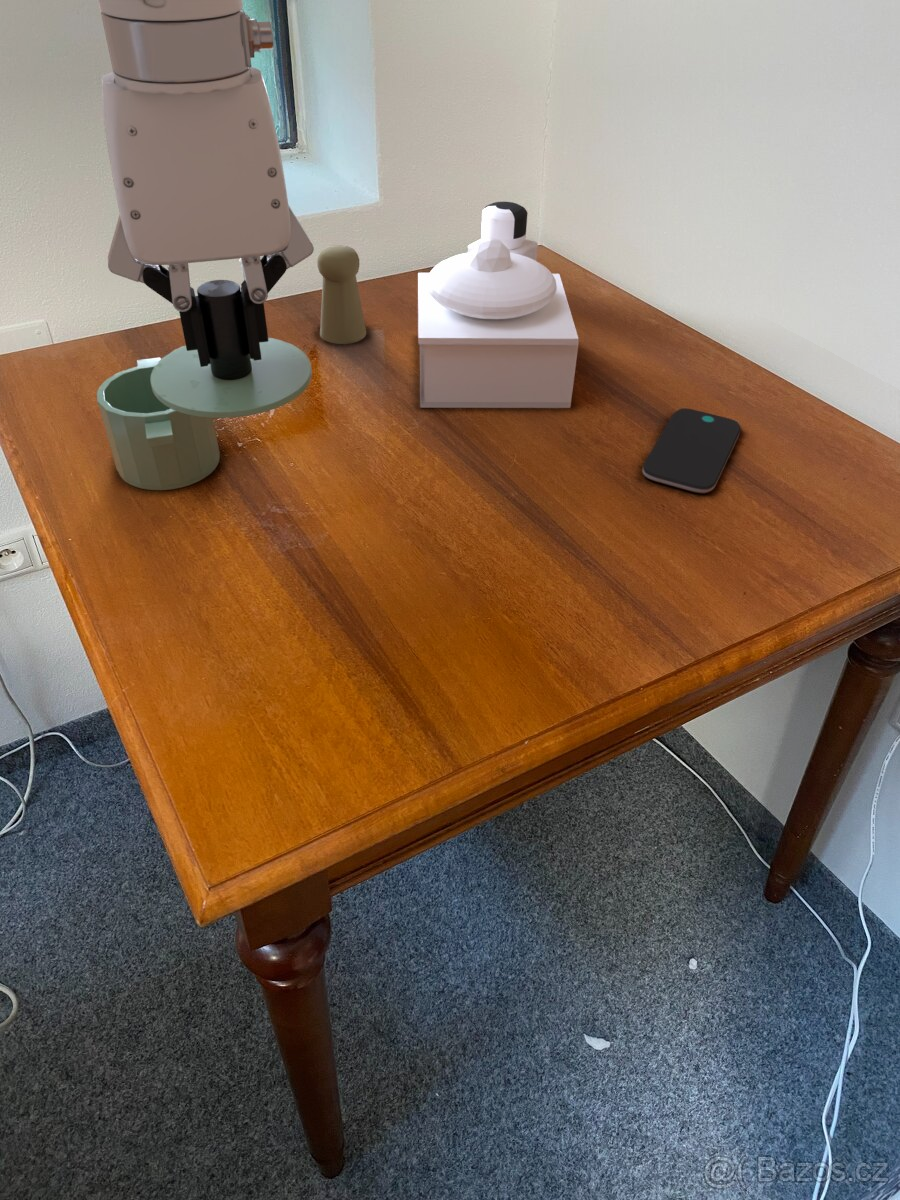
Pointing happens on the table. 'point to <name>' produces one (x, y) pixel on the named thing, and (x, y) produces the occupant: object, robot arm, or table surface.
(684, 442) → the smartphone
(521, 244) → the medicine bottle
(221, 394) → the pot lid
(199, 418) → the pot
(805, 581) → the table surface
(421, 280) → the white box
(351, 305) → the olive pawn
